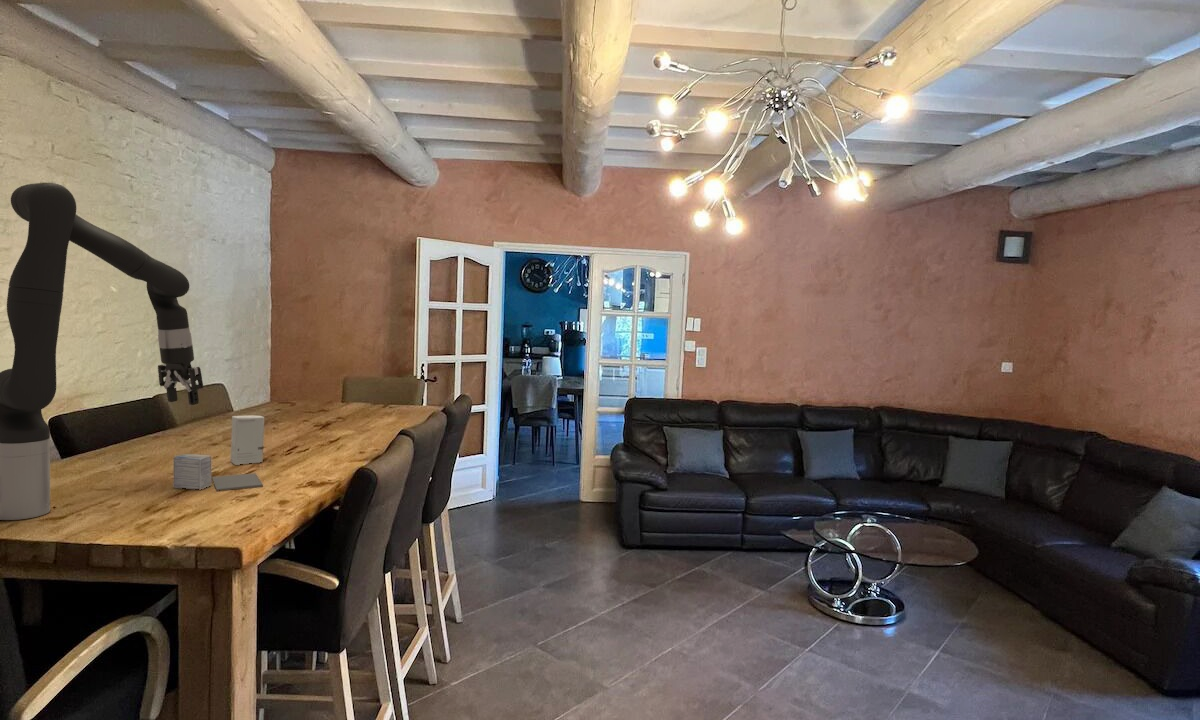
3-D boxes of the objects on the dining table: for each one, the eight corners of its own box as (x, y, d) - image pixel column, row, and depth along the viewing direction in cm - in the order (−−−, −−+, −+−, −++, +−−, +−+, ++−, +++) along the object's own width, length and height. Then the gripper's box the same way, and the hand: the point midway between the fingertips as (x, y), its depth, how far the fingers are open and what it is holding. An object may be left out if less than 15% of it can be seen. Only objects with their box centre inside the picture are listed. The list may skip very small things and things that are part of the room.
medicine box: (212, 486, 173) (212, 455, 172) (200, 490, 169) (200, 458, 168) (185, 484, 174) (185, 453, 173) (172, 488, 169) (172, 456, 169)
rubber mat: (216, 491, 168) (216, 489, 168) (211, 479, 180) (211, 477, 180) (262, 486, 175) (262, 484, 175) (255, 475, 186) (255, 473, 186)
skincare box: (234, 465, 196) (235, 418, 195) (229, 462, 200) (230, 415, 199) (264, 462, 201) (265, 416, 200) (258, 459, 206) (259, 413, 205)
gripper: (144, 345, 171) (152, 403, 173) (180, 348, 165) (187, 408, 168) (172, 341, 177) (179, 397, 180) (207, 344, 172) (214, 402, 175)
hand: (183, 402), depth 174 cm, fingers open, 8 cm apart
